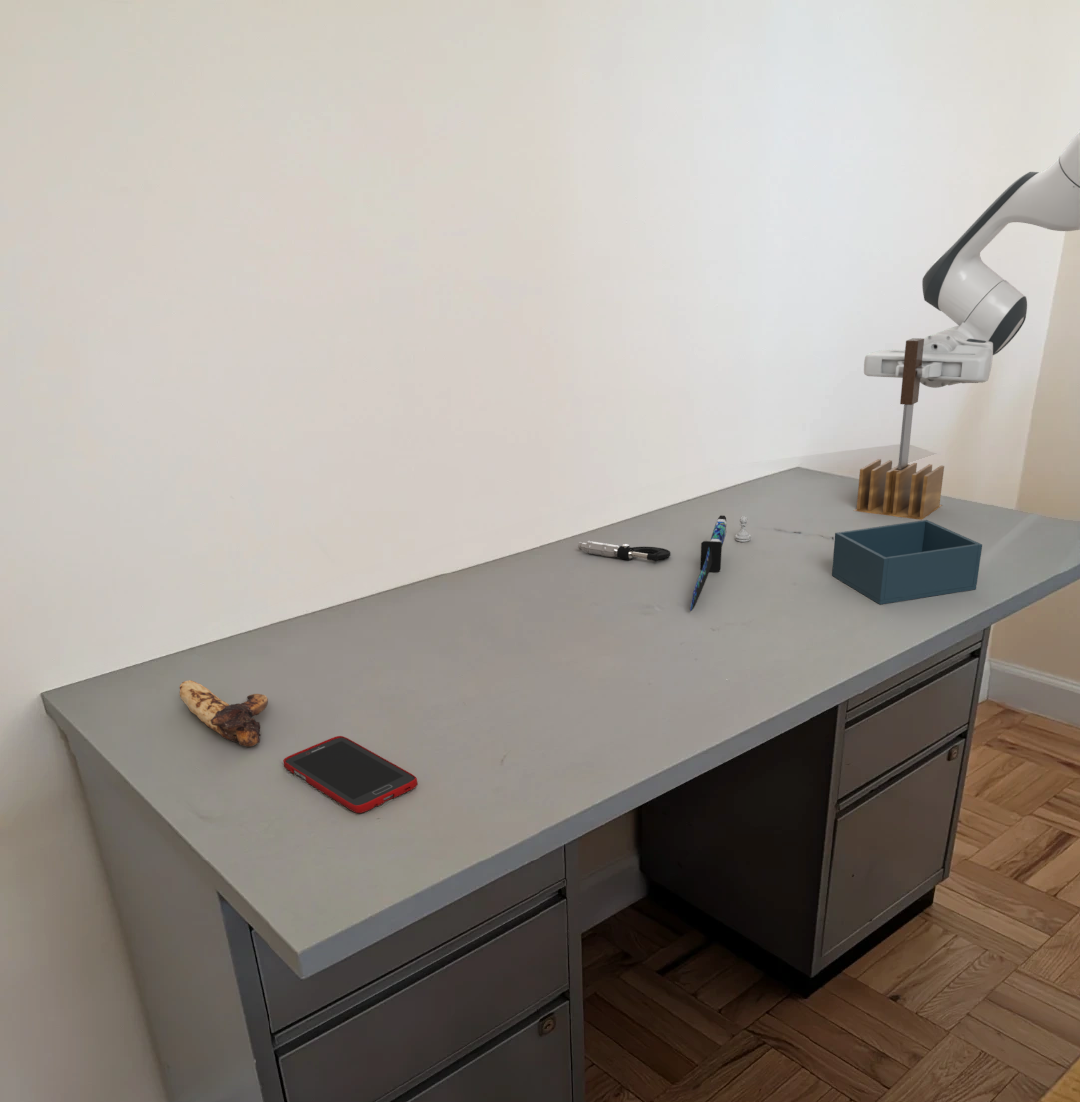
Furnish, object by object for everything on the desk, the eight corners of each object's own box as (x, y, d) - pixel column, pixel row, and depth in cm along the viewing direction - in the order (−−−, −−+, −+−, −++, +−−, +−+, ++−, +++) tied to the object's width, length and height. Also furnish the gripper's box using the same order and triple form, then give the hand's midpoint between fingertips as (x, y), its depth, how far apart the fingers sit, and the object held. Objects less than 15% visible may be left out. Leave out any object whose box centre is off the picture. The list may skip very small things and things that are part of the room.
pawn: (733, 541, 172) (734, 518, 170) (736, 537, 174) (736, 513, 172) (749, 542, 171) (750, 518, 169) (751, 537, 173) (752, 514, 172)
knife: (717, 538, 170) (717, 512, 167) (736, 539, 169) (736, 513, 166) (672, 625, 146) (671, 597, 144) (693, 627, 145) (692, 598, 143)
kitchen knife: (892, 476, 177) (905, 340, 167) (899, 472, 179) (912, 337, 169) (904, 477, 176) (917, 340, 166) (911, 473, 178) (924, 338, 168)
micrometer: (678, 553, 168) (678, 538, 167) (656, 566, 163) (656, 551, 162) (599, 541, 176) (599, 527, 175) (576, 553, 171) (576, 538, 170)
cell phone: (358, 817, 101) (357, 808, 101) (280, 767, 111) (279, 759, 110) (421, 786, 106) (420, 778, 105) (341, 741, 115) (340, 733, 115)
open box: (922, 562, 158) (926, 519, 155) (976, 589, 147) (982, 544, 144) (831, 575, 155) (834, 532, 152) (879, 604, 144) (884, 558, 141)
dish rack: (852, 517, 181) (856, 470, 177) (874, 503, 187) (879, 457, 184) (921, 526, 174) (926, 477, 170) (941, 511, 181) (947, 464, 177)
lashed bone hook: (305, 736, 118) (237, 686, 131) (301, 699, 116) (232, 651, 129) (228, 762, 113) (165, 707, 126) (222, 724, 111) (158, 671, 123)
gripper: (882, 338, 183) (850, 350, 174) (1003, 342, 172) (976, 354, 162) (879, 375, 186) (847, 389, 177) (997, 381, 174) (970, 395, 165)
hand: (910, 372), depth 169 cm, fingers closed on kitchen knife, 2 cm apart
